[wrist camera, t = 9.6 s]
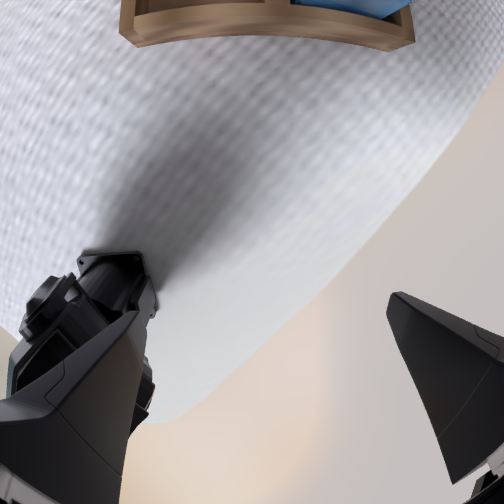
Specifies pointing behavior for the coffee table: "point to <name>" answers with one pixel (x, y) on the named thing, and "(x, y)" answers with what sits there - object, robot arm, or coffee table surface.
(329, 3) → the perfume bottle
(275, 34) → the wooden divided tray
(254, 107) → the coffee table surface
